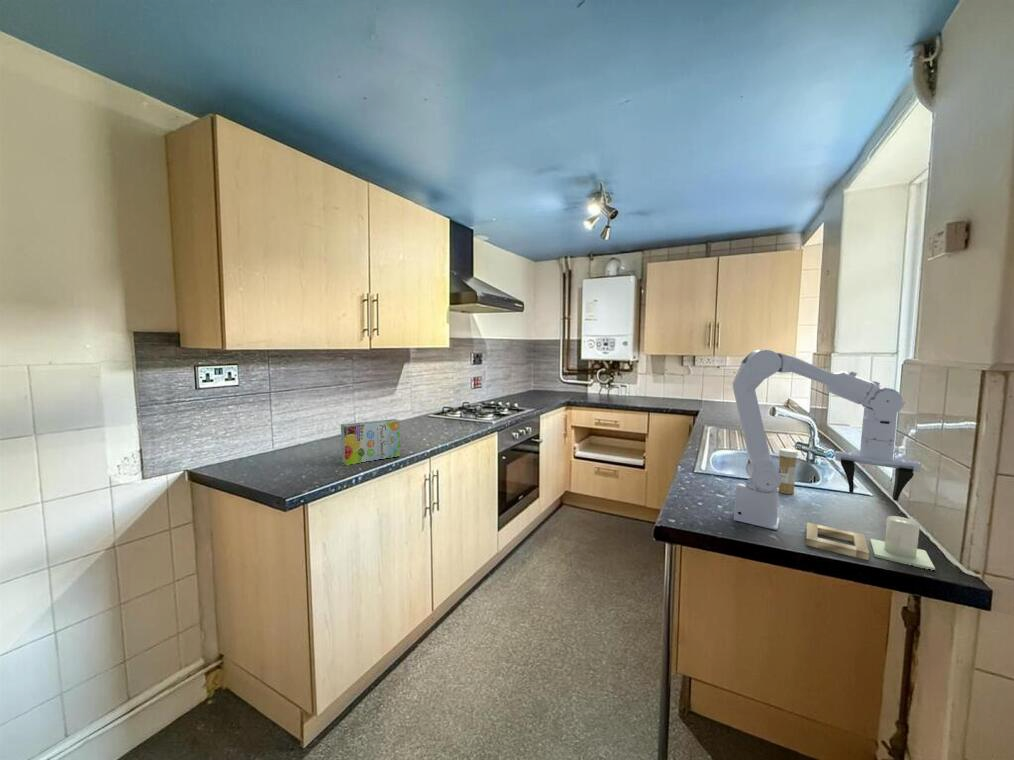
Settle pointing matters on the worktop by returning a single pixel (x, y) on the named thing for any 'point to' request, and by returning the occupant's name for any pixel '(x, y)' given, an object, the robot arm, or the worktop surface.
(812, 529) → the collar
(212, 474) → the worktop surface
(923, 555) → the sage board
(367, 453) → the snack box
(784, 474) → the sprinkles bottle
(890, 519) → the jug
